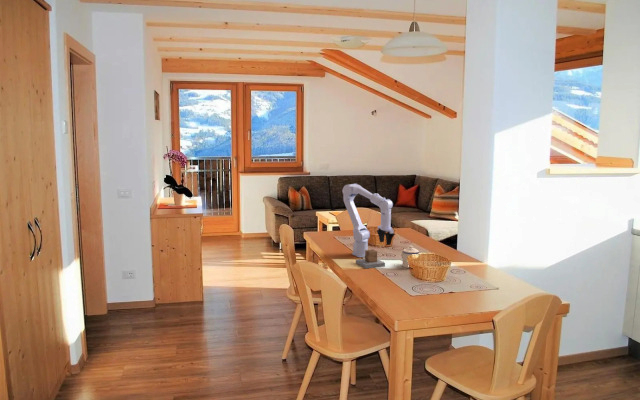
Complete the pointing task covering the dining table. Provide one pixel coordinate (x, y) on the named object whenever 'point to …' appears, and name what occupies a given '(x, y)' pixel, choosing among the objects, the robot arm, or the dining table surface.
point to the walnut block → (370, 256)
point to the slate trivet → (370, 265)
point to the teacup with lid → (406, 253)
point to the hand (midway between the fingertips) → (385, 243)
